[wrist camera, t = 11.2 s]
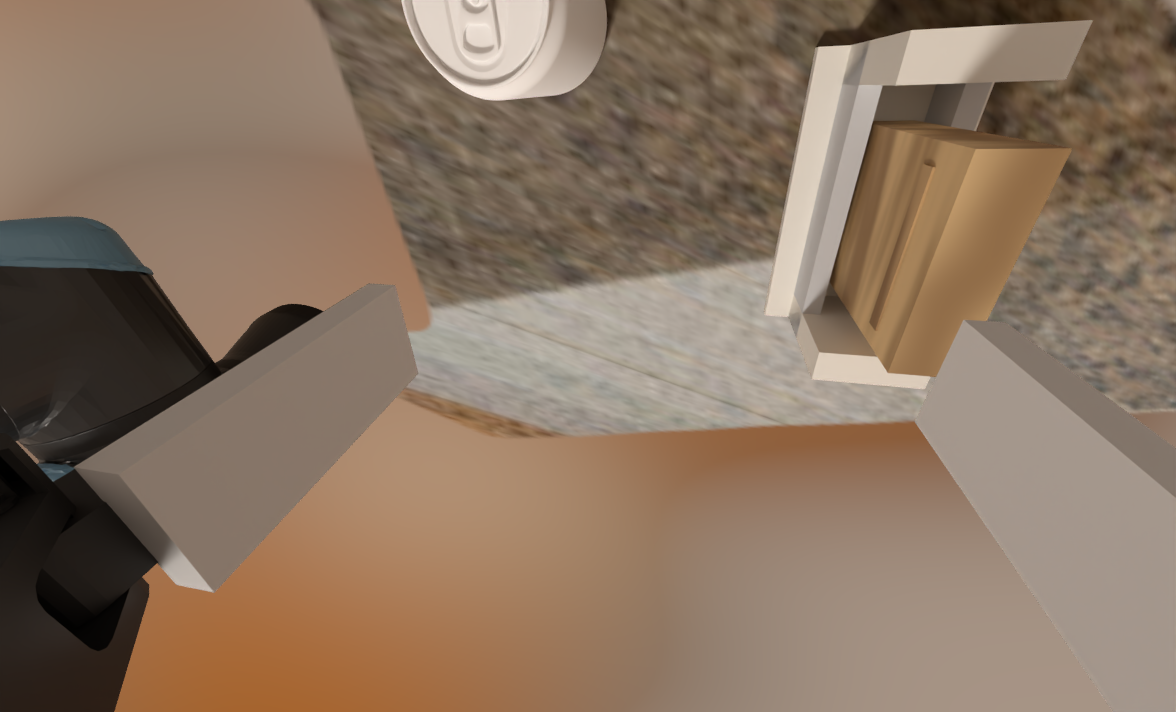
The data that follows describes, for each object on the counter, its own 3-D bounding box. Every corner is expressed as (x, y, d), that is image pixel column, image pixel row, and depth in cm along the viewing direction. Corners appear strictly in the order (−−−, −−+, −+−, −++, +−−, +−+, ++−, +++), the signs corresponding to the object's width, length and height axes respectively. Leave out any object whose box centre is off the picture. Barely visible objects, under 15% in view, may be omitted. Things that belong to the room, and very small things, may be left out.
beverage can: (611, -59, 27) (558, -142, 17) (606, 96, 31) (561, 103, 21) (486, -54, 28) (368, -129, 18) (498, 94, 32) (408, 99, 22)
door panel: (820, 271, 33) (885, 372, 22) (859, 121, 28) (972, 149, 16) (867, 273, 32) (960, 379, 21) (916, 120, 27) (1075, 148, 16)
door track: (763, 311, 36) (781, 376, 28) (815, 47, 27) (864, 32, 19) (897, 319, 35) (958, 392, 26) (1004, 38, 25) (1148, 17, 17)
